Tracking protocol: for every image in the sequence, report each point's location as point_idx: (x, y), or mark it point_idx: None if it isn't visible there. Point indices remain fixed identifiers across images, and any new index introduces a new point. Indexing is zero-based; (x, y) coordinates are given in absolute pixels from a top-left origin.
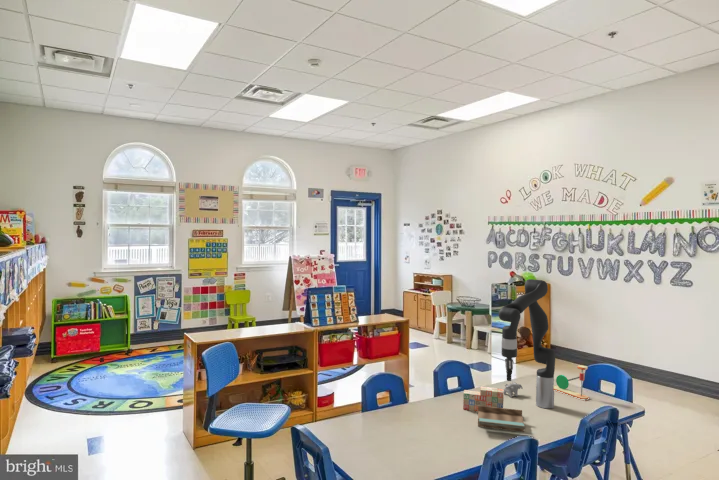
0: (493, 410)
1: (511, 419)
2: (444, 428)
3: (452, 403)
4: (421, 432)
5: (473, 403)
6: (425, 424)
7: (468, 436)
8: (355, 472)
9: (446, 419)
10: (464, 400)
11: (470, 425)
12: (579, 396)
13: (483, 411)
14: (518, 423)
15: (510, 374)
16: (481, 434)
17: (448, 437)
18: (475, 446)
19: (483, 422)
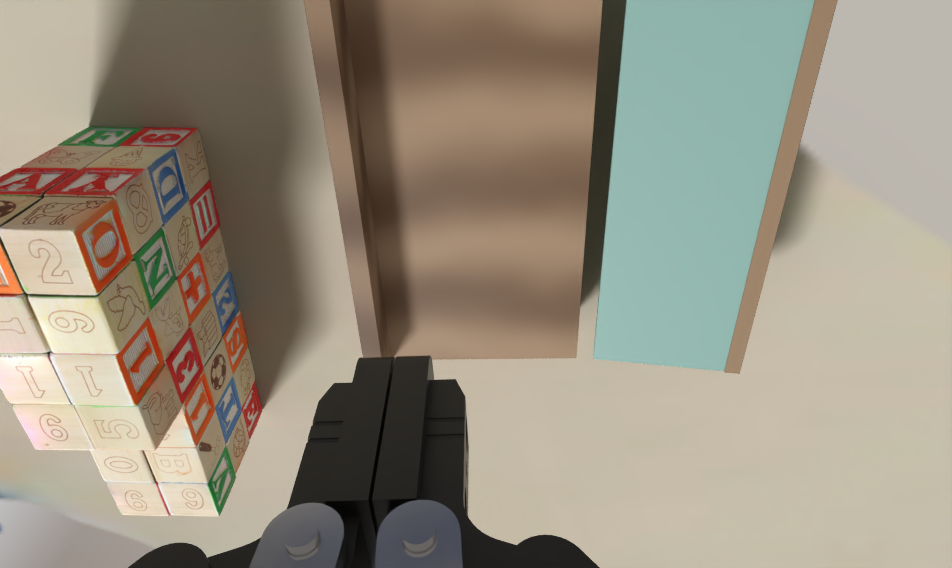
0: (373, 256)
1: (509, 79)
2: (654, 484)
3: None
4: (734, 564)
5: (228, 392)
6: (615, 558)
7: (767, 368)
8: None
9: (501, 483)
10: (239, 459)
11: (562, 362)
12: None
13: (389, 323)
14: (689, 13)
15: (464, 513)
16: None
17: (793, 461)
18: (938, 327)
19: (745, 341)
